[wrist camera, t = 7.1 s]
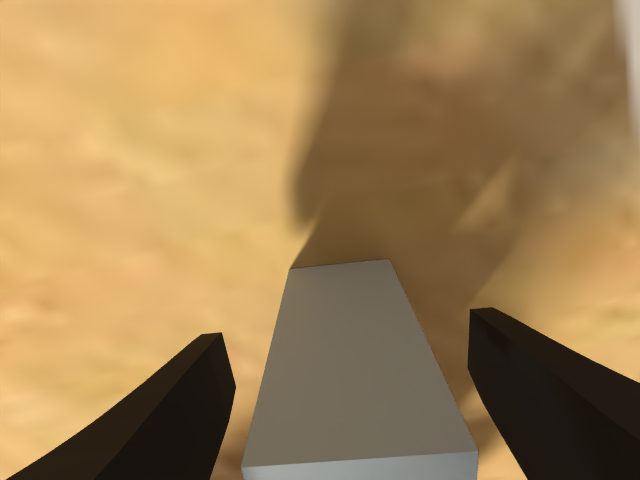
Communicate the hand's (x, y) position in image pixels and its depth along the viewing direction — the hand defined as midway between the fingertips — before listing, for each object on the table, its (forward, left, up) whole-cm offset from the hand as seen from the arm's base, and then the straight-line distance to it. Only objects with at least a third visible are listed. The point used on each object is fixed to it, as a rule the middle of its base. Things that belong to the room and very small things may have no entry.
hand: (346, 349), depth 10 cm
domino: (0, 0, -4) cm, 4 cm away
